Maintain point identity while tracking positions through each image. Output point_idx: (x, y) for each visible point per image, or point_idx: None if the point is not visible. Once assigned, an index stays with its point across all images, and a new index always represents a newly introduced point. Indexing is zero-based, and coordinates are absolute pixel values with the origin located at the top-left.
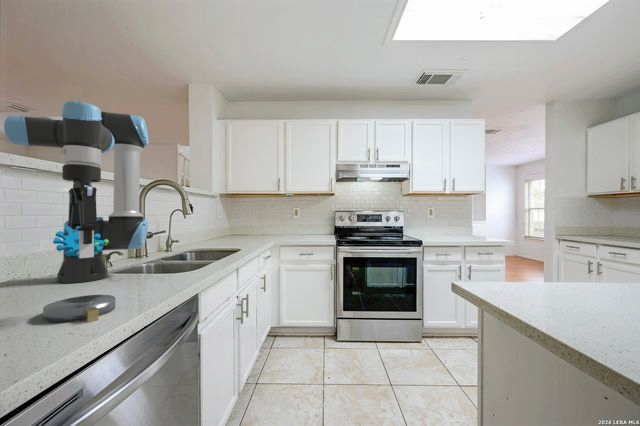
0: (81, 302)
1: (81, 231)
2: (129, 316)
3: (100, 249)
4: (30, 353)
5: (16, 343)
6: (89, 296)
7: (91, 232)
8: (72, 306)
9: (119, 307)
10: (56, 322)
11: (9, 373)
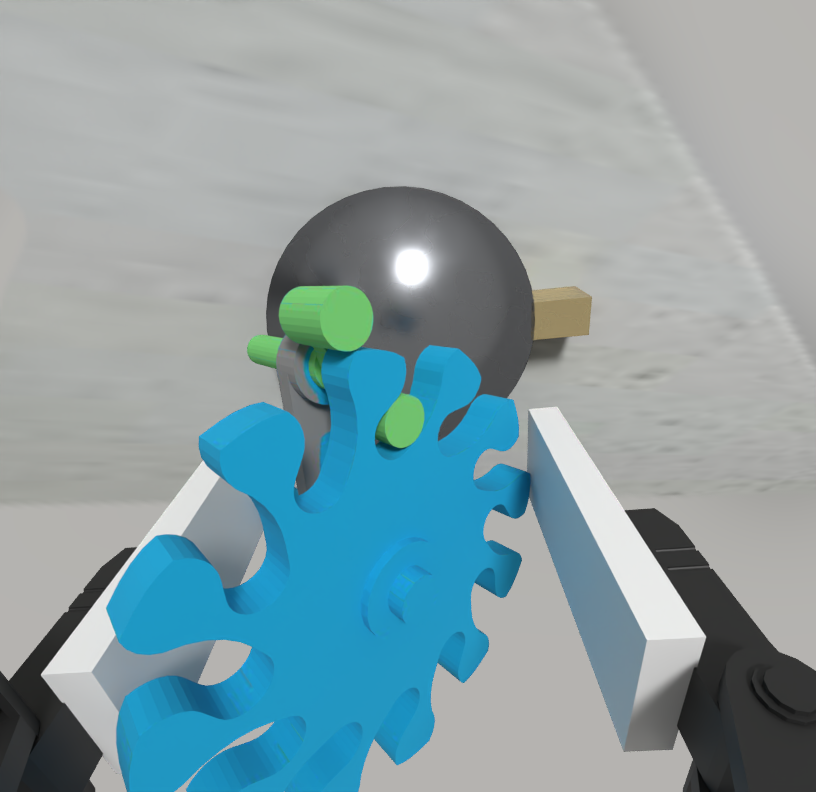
0: (403, 334)
1: (671, 732)
2: (640, 170)
3: (476, 368)
4: (718, 458)
5: None
6: None
7: (761, 642)
8: None
9: (444, 172)
10: None
11: (806, 488)
